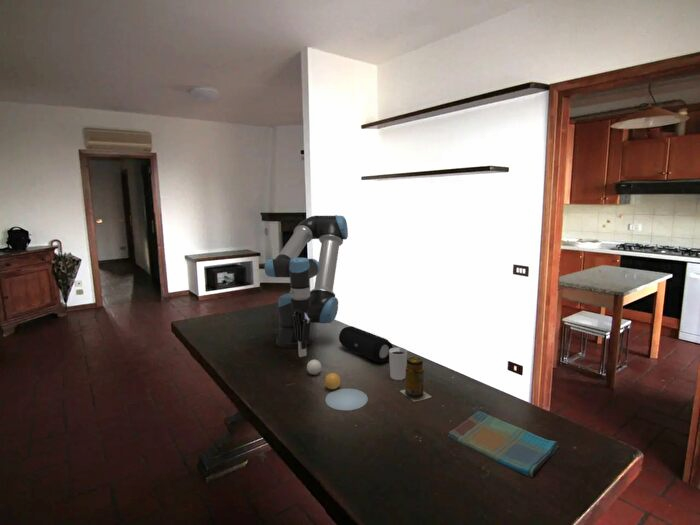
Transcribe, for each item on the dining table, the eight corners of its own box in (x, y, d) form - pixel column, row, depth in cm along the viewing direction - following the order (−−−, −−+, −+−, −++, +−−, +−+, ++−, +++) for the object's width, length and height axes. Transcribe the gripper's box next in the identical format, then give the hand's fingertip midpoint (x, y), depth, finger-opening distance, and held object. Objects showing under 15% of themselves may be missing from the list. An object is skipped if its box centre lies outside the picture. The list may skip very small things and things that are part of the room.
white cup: (409, 374, 147) (409, 348, 145) (403, 381, 141) (404, 355, 140) (392, 371, 150) (392, 346, 148) (386, 378, 144) (386, 352, 142)
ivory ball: (312, 369, 153) (311, 356, 152) (324, 372, 150) (323, 358, 149) (304, 375, 148) (303, 361, 147) (316, 378, 145) (316, 364, 144)
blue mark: (338, 385, 139) (338, 385, 139) (374, 394, 133) (374, 393, 133) (317, 404, 127) (317, 403, 127) (356, 414, 120) (355, 414, 120)
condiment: (417, 386, 138) (417, 354, 136) (432, 397, 130) (432, 363, 128) (399, 391, 134) (399, 358, 132) (413, 402, 127) (414, 367, 125)
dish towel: (532, 482, 92) (532, 472, 91) (446, 439, 109) (446, 430, 108) (559, 449, 103) (560, 441, 103) (477, 415, 120) (478, 407, 120)
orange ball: (330, 383, 141) (329, 369, 140) (343, 386, 138) (343, 372, 137) (322, 390, 136) (321, 375, 135) (335, 393, 134) (335, 378, 133)
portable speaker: (337, 349, 173) (336, 327, 172) (354, 343, 179) (354, 322, 178) (377, 367, 154) (377, 343, 152) (394, 360, 160) (394, 337, 158)
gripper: (284, 296, 156) (287, 352, 159) (298, 302, 145) (301, 363, 148) (302, 293, 160) (303, 348, 163) (316, 299, 149) (318, 358, 152)
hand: (302, 355), depth 156 cm, fingers closed
